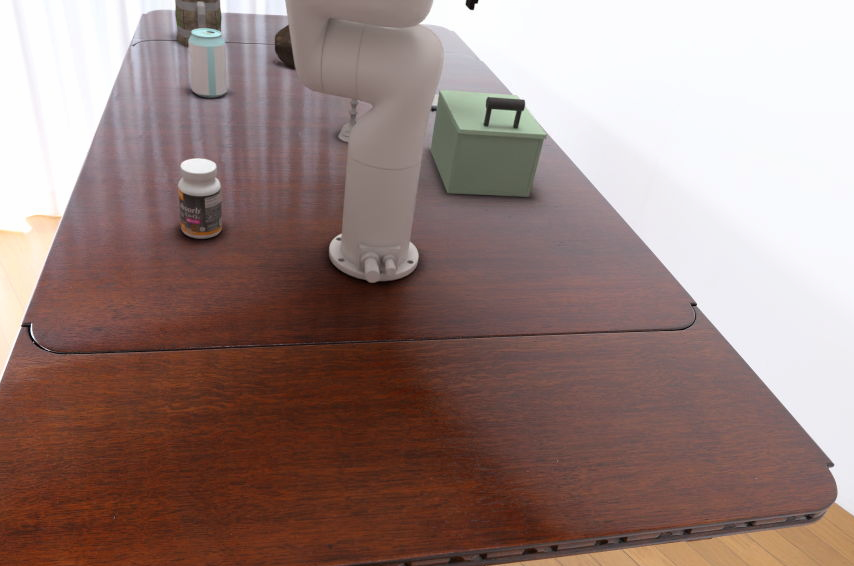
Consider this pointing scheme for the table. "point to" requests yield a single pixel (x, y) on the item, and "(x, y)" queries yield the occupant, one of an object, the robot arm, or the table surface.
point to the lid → (491, 114)
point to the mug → (196, 17)
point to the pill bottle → (200, 199)
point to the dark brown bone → (284, 47)
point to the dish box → (483, 160)
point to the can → (208, 62)
